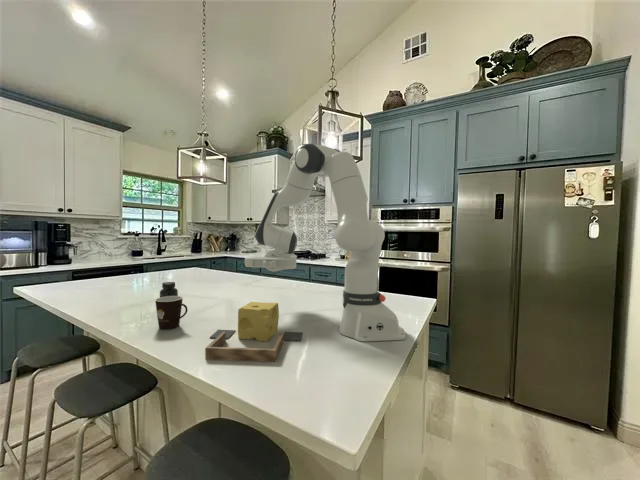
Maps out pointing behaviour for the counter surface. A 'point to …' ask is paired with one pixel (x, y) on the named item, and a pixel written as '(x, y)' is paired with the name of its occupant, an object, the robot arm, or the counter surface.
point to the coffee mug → (169, 311)
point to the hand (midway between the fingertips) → (267, 264)
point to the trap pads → (287, 335)
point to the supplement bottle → (168, 289)
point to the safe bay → (242, 351)
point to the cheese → (258, 321)
